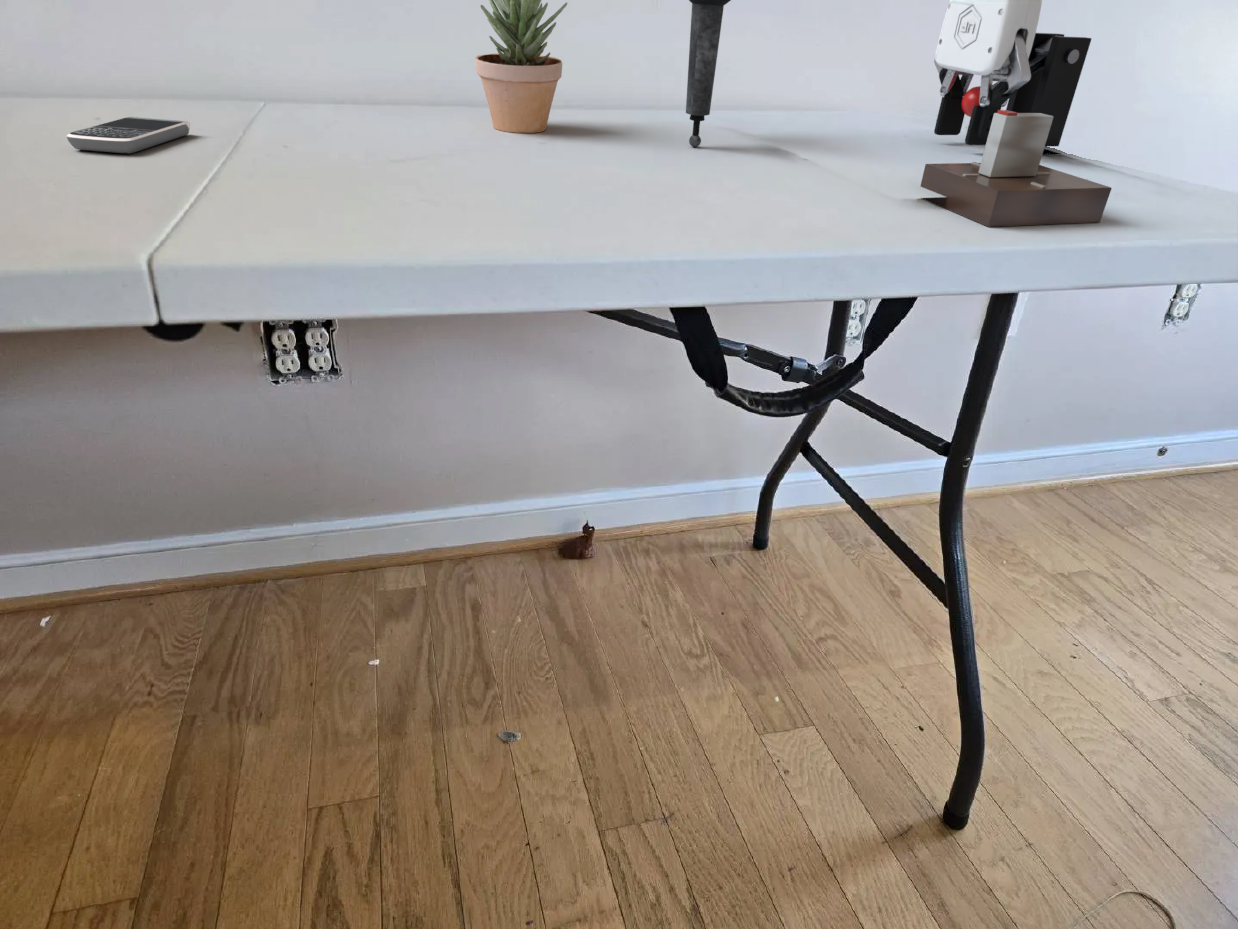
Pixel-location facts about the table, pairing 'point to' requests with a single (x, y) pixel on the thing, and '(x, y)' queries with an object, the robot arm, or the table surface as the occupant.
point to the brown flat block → (1015, 196)
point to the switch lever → (974, 93)
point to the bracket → (1052, 83)
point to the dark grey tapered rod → (702, 60)
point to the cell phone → (128, 134)
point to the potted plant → (519, 67)
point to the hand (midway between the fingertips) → (962, 137)
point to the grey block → (1015, 144)
